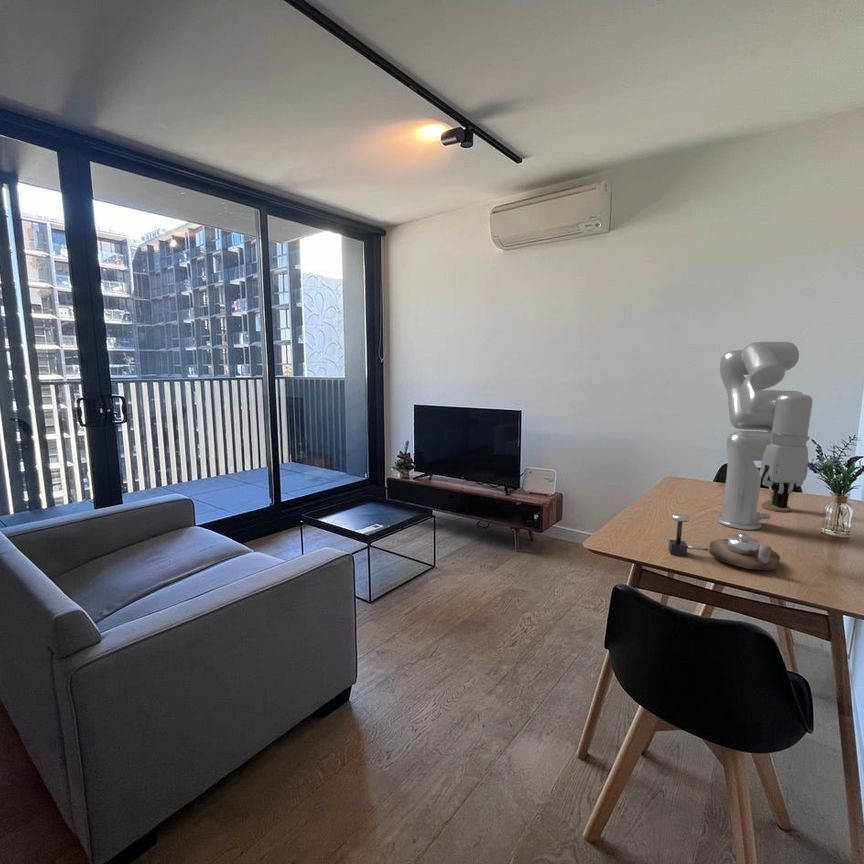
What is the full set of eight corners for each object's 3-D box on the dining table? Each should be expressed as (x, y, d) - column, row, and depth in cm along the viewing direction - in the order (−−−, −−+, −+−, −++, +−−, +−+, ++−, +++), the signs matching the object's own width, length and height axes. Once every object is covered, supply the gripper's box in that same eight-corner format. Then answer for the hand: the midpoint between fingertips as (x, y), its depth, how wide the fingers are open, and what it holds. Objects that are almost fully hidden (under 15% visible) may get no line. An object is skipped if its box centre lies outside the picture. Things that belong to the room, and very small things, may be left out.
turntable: (749, 544, 135) (751, 525, 135) (795, 569, 119) (798, 547, 119) (696, 545, 134) (698, 526, 133) (736, 570, 118) (739, 549, 118)
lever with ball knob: (670, 554, 131) (673, 517, 129) (667, 548, 135) (670, 512, 133) (709, 559, 128) (713, 521, 126) (705, 553, 132) (709, 516, 130)
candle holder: (794, 513, 167) (801, 458, 164) (765, 510, 170) (772, 456, 167) (784, 506, 175) (791, 453, 172) (757, 503, 178) (763, 452, 175)
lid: (743, 545, 130) (745, 529, 130) (764, 555, 123) (766, 539, 123) (721, 546, 130) (722, 530, 129) (740, 556, 123) (742, 540, 122)
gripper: (803, 437, 127) (793, 501, 130) (751, 438, 126) (743, 502, 129) (827, 442, 120) (817, 510, 123) (773, 443, 119) (763, 511, 122)
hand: (779, 506), depth 126 cm, fingers closed
